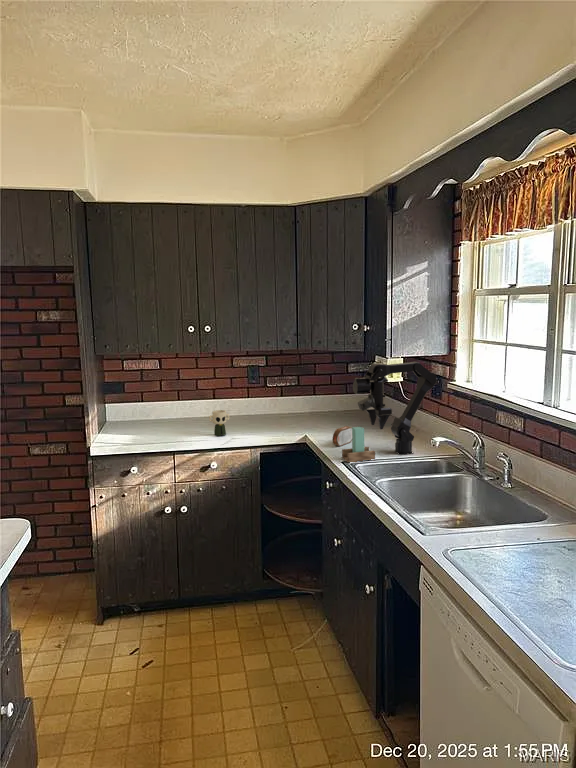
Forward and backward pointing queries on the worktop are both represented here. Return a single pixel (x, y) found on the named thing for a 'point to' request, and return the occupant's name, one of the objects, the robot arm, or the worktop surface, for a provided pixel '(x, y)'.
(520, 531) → the worktop surface
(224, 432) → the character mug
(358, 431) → the block
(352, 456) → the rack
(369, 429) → the worktop surface
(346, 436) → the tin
